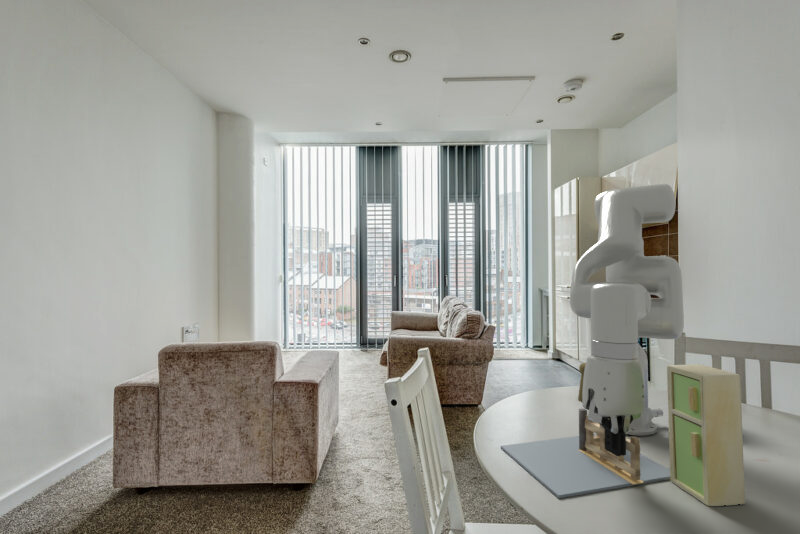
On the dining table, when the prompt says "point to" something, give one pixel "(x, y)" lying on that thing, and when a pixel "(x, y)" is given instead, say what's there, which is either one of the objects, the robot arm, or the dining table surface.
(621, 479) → the card
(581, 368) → the cork
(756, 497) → the dining table surface
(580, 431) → the fence fixed
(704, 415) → the toy refrigerator
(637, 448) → the fence gate
